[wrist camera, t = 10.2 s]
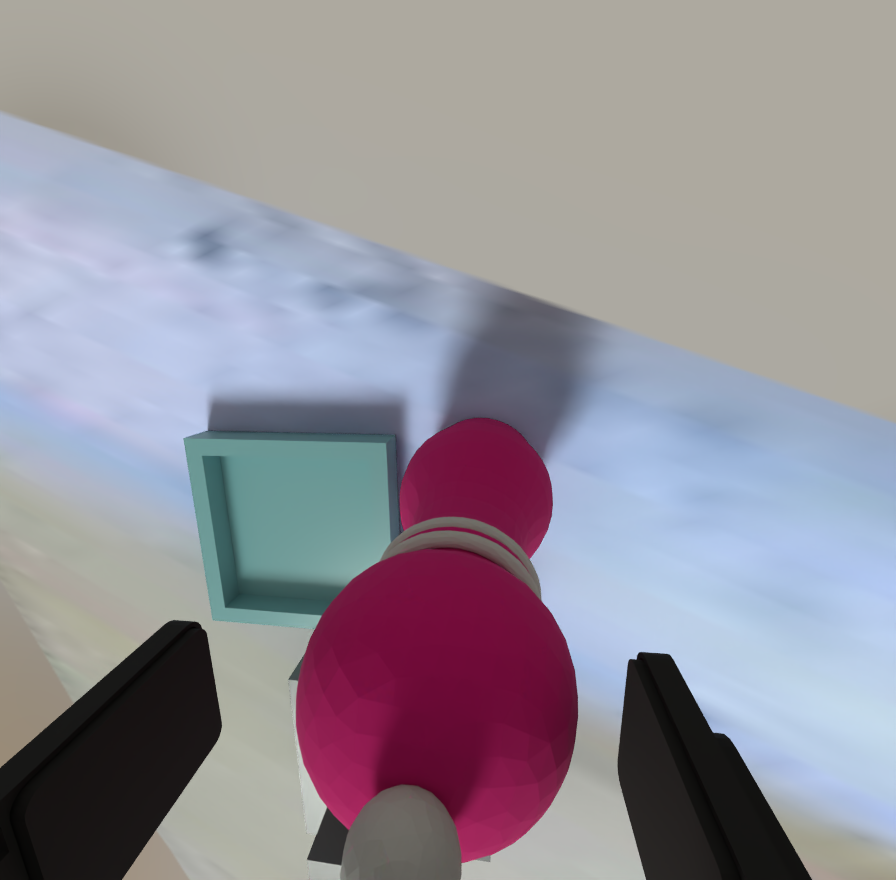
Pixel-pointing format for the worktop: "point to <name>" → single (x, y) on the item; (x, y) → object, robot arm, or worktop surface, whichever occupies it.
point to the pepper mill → (443, 670)
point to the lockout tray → (289, 518)
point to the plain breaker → (327, 849)
